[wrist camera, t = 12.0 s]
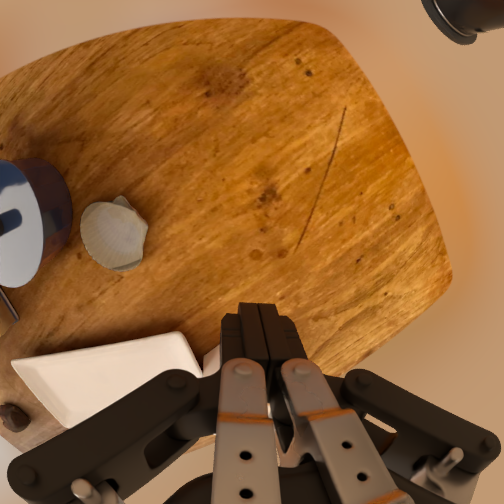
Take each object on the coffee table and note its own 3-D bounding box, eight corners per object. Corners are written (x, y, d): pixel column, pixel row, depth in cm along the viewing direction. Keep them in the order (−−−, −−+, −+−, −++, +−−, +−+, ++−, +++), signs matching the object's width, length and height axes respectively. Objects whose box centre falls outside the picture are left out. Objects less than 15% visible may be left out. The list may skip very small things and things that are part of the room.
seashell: (85, 222, 29) (119, 280, 30) (68, 227, 26) (103, 290, 27) (129, 179, 27) (168, 243, 28) (112, 180, 24) (154, 251, 25)
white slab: (226, 401, 38) (227, 419, 35) (70, 416, 38) (65, 430, 35) (183, 313, 32) (180, 330, 29) (17, 348, 32) (7, 360, 29)
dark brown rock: (5, 432, 33) (20, 438, 31) (-8, 406, 34) (5, 409, 32) (21, 424, 39) (38, 428, 37) (10, 399, 40) (25, 401, 38)
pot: (-2, 162, 23) (-35, 168, 17) (72, 154, 25) (40, 158, 19) (5, 256, 27) (-22, 276, 21) (77, 263, 29) (51, 288, 23)
